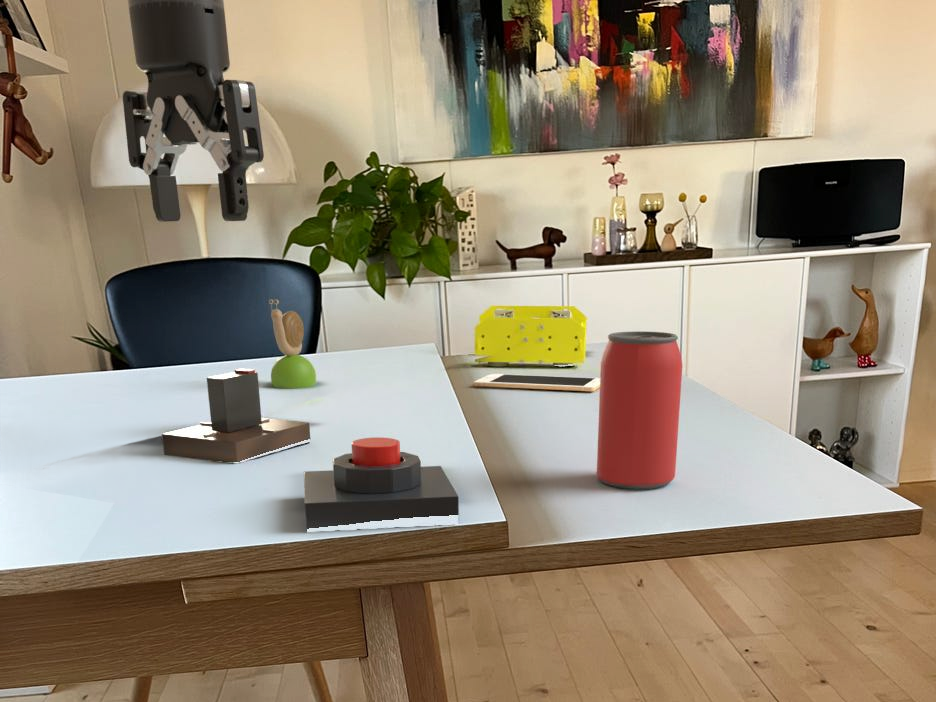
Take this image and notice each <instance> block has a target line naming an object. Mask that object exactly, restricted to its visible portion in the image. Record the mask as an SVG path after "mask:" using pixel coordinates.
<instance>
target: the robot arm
mask: <svg viewBox="0 0 936 702" xmlns="http://www.w3.org/2000/svg"><path fill="white" fill-rule="evenodd" d="M127 5H128V13H129V21H130V29H131V36H132V42H133V43H132V45H133V50H134V58H135V64H136V67H137V68H138V69H139V70H140V71H141V72H142V73H144V74H145V75H146V77H147V91H146V92H144V91H133V90H132V91H131V90H124V91H123V93H122V107H123V112H124V113H123V115H124V126H125V134H126V135H125V136H126V146H127V154H128V155H127V156H128V163H129V164H130V167H132V168H138V169H140V170H142V171H144V174H145V175H147V176H148V180H149V185H150V186H149V188H150V195H151V202H152V209H153V212H154V214H155V218H156V220H157V221H158V222H159V223H161V222H162V223H163V222H164V223H165V222H167V223H168V222H179V221H180V220H181V208H180V199H179V192H178V185H177V176H176V175H173V174H174V173H175V171H176V167H177V164H178V160H179V157H180V155H182V154H184V153H185V152H186V150H187V147H188V146H191V145H193V146H194V145H197V144H199V145H200V146H201V148H203V149H204V150H206V151H208V153H209V155H210V156H211V157H212V159H213V161H214V162H215V165H217V167H218V170H220V171H221V172H219V173H218V172H217V181H218V191H219V200H220V208H221V209H220V210H221V217H222V219H223V220H224V221H225V222H244V221H246V220H247V218H248V212H249V206H250V205H249V195H248V186H247V185H248V184H247V175H246V174H247V171H248V170H249V169H250V166H253V165H254V164H255V163H262V162H263V161H264V158H265V153H264V146H263V138H262V130H261V123H260V116H259V115H260V114H259V108H258V100H257V92H256V87H255V85H254V83H253V82H252V81H246V80H242V79H241V80H240V79H225V78H224V73H226V72H228V71H229V69H230V65H231V61H230V51H229V42H228V33H227V21H226V13H225V11H226V10H225V1H224V0H127ZM244 132H245V133H246V139H247V145H246V141H245V136H244ZM141 138H144V145H145V152H142V147H141V144H142V143H141ZM162 156H163V157H162Z"/></svg>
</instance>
